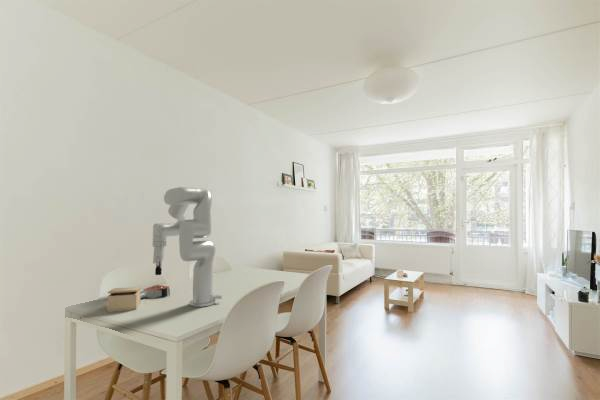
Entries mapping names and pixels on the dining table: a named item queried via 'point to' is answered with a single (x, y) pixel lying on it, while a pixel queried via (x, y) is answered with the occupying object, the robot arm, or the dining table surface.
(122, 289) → the lid
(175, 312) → the dining table surface
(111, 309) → the box
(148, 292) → the tape dispenser
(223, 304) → the dining table surface
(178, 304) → the dining table surface
